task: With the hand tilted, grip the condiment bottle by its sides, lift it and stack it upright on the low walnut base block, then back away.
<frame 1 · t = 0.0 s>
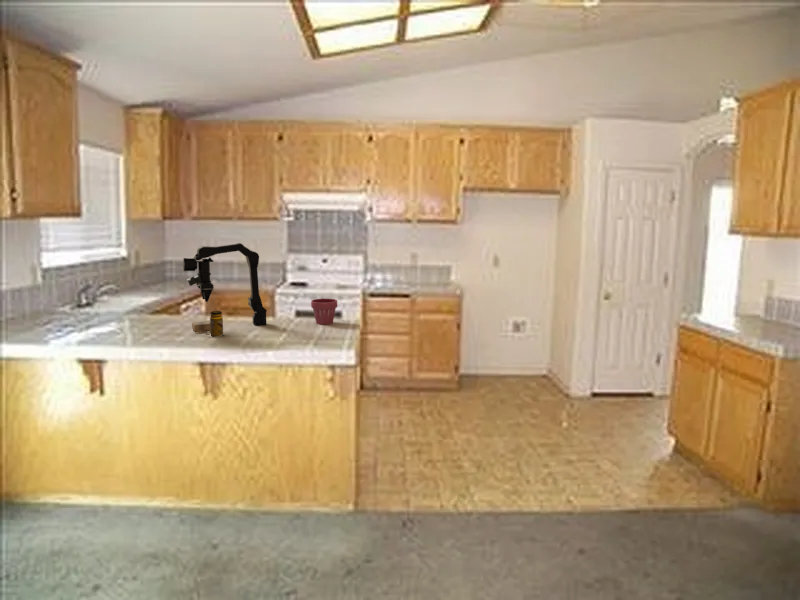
hand: (205, 300, 338), 15 cm above the countertop, tool pointing down, fingers open, 9 cm apart
plant pot: (324, 323, 358), on the countertop
base block: (202, 330, 335), on the countertop
condiment: (215, 335, 323), on the countertop
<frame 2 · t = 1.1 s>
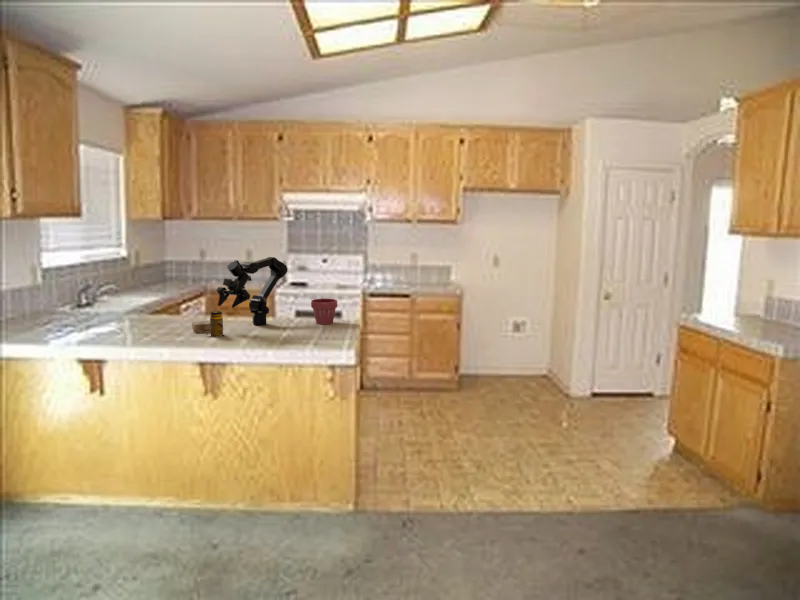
hand: (225, 306, 328), 13 cm above the countertop, tool tilted 45°, fingers open, 9 cm apart
nothing on the countertop moved.
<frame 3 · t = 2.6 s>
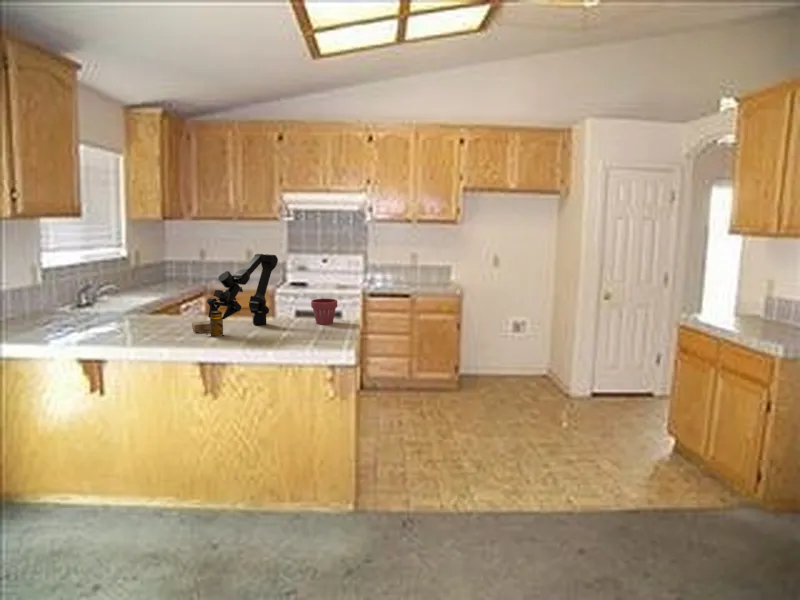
hand: (215, 318, 323), 9 cm above the countertop, tool tilted 45°, fingers open, 9 cm apart
nothing on the countertop moved.
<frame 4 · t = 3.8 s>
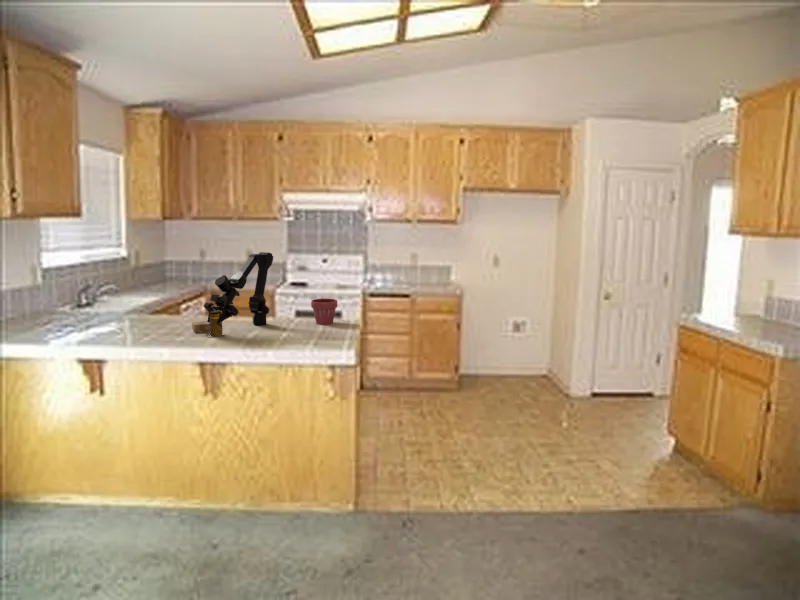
hand: (212, 322, 321), 7 cm above the countertop, tool tilted 45°, fingers closed on condiment, 6 cm apart
condiment: (214, 335, 324), on the countertop, touching gripper
everything else where it was.
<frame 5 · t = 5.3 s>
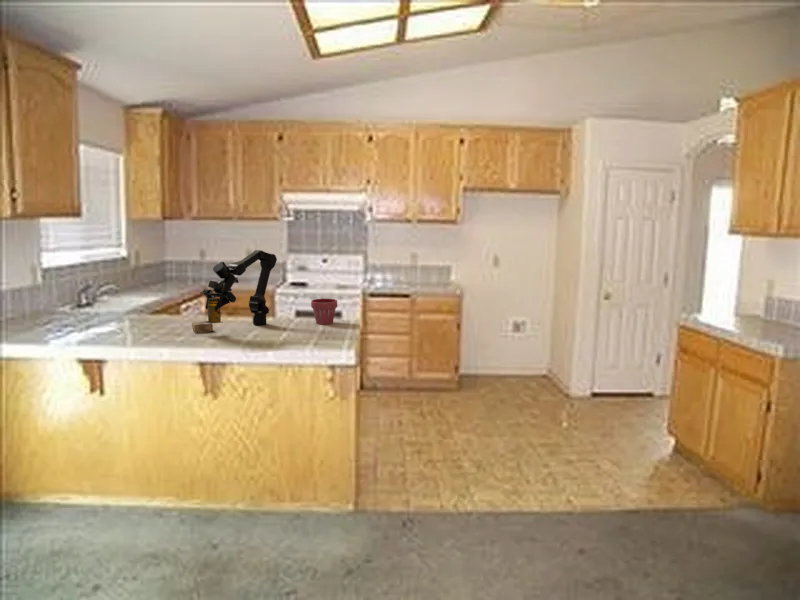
hand: (210, 309, 321), 13 cm above the countertop, tool tilted 45°, fingers closed on condiment, 6 cm apart
condiment: (212, 322, 324), point 6 cm above the countertop, touching gripper
everything else where it was.
when the fingers open (12 cm above the countertop, at t = 7.1 s): condiment stays where it is, resting on base block.
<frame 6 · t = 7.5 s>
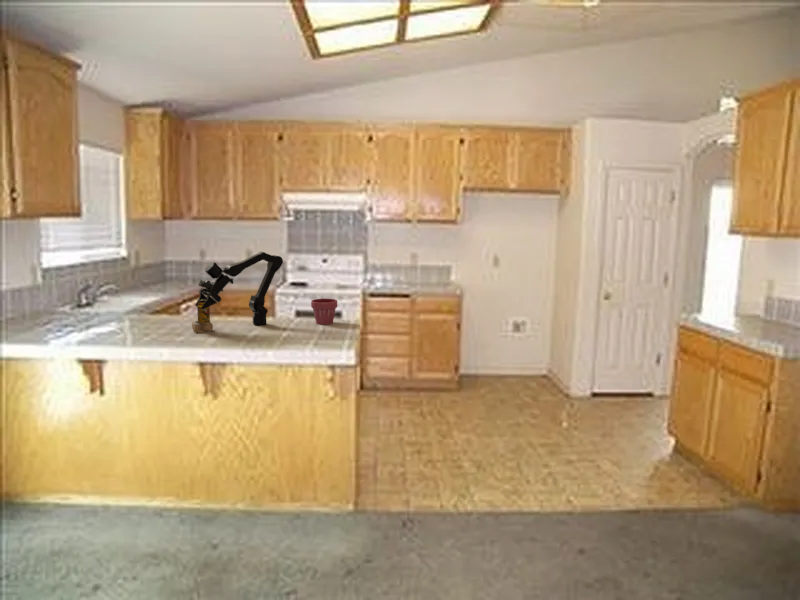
hand: (198, 307, 332), 12 cm above the countertop, tool tilted 45°, fingers open, 9 cm apart
condiment: (202, 323, 334), point 4 cm above the countertop, touching base block
everything else where it was.
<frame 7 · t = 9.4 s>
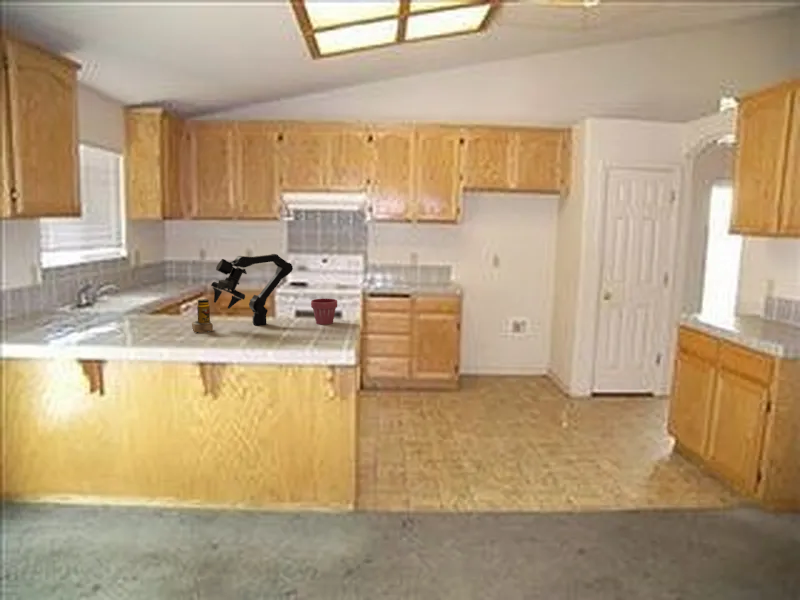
hand: (221, 305, 339), 12 cm above the countertop, tool tilted 25°, fingers open, 9 cm apart
nothing on the countertop moved.
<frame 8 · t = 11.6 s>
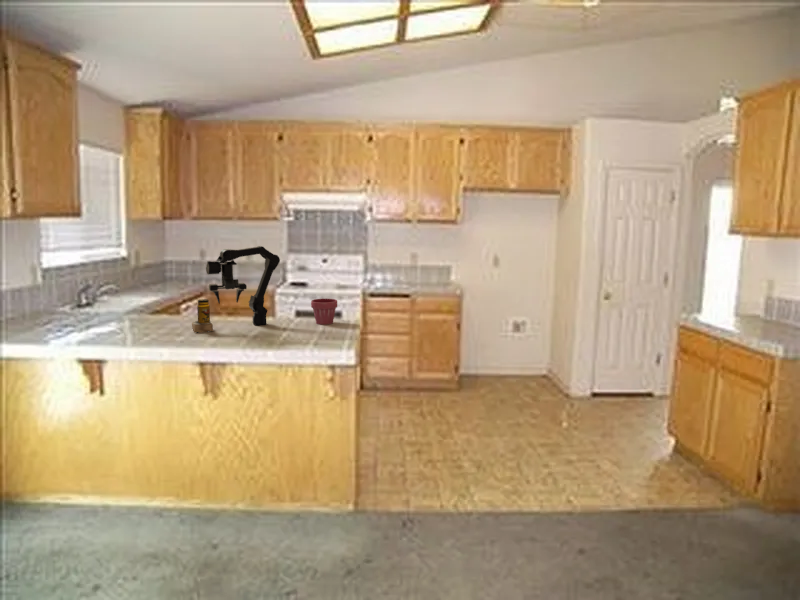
hand: (228, 303, 342), 13 cm above the countertop, tool pointing down, fingers open, 9 cm apart
nothing on the countertop moved.
at the end: condiment 0.3 cm off-centre on the base block, point 3.8 cm above the base block's base; condiment tilted 0°; the gripper is holding nothing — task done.
